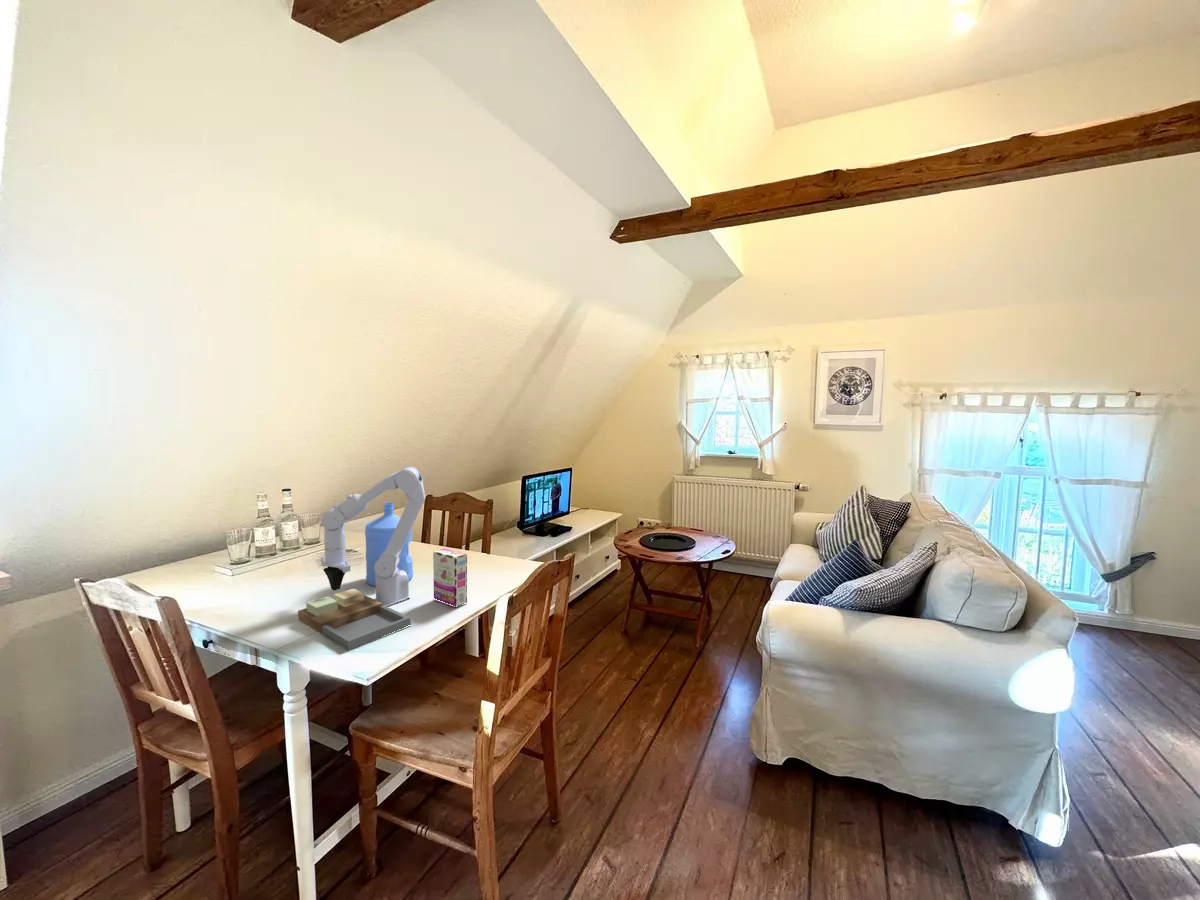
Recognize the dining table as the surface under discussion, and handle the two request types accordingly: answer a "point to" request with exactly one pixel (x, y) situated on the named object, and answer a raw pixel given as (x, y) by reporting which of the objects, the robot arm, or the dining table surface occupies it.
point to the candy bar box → (450, 577)
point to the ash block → (349, 597)
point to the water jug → (385, 543)
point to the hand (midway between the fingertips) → (335, 589)
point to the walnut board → (340, 614)
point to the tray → (367, 628)
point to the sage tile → (322, 606)
